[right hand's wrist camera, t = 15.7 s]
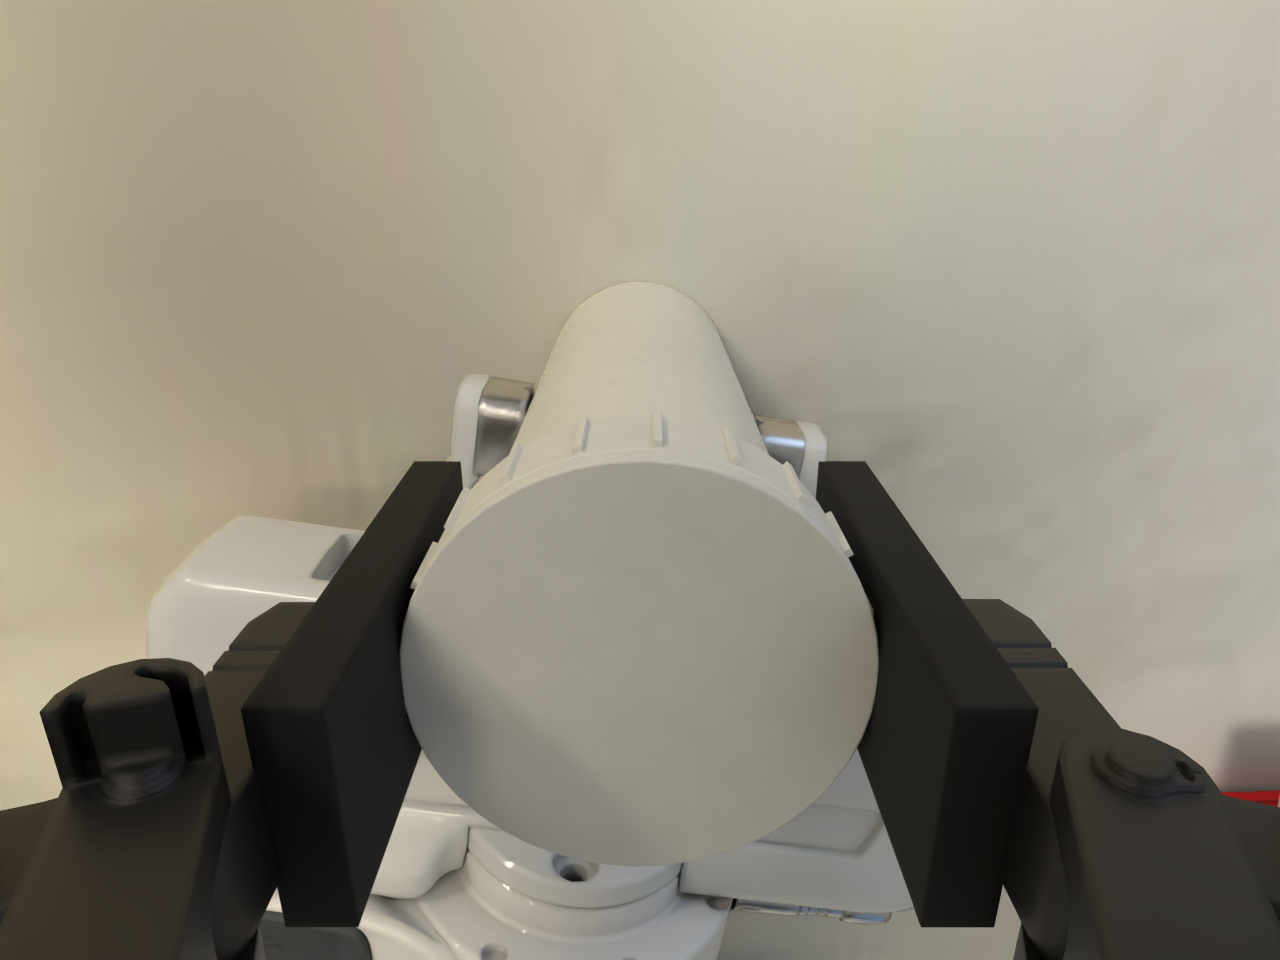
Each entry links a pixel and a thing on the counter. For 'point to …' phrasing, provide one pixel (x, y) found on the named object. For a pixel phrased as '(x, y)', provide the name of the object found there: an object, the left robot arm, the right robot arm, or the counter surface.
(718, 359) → the jar
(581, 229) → the counter surface
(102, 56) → the counter surface
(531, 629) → the lid
